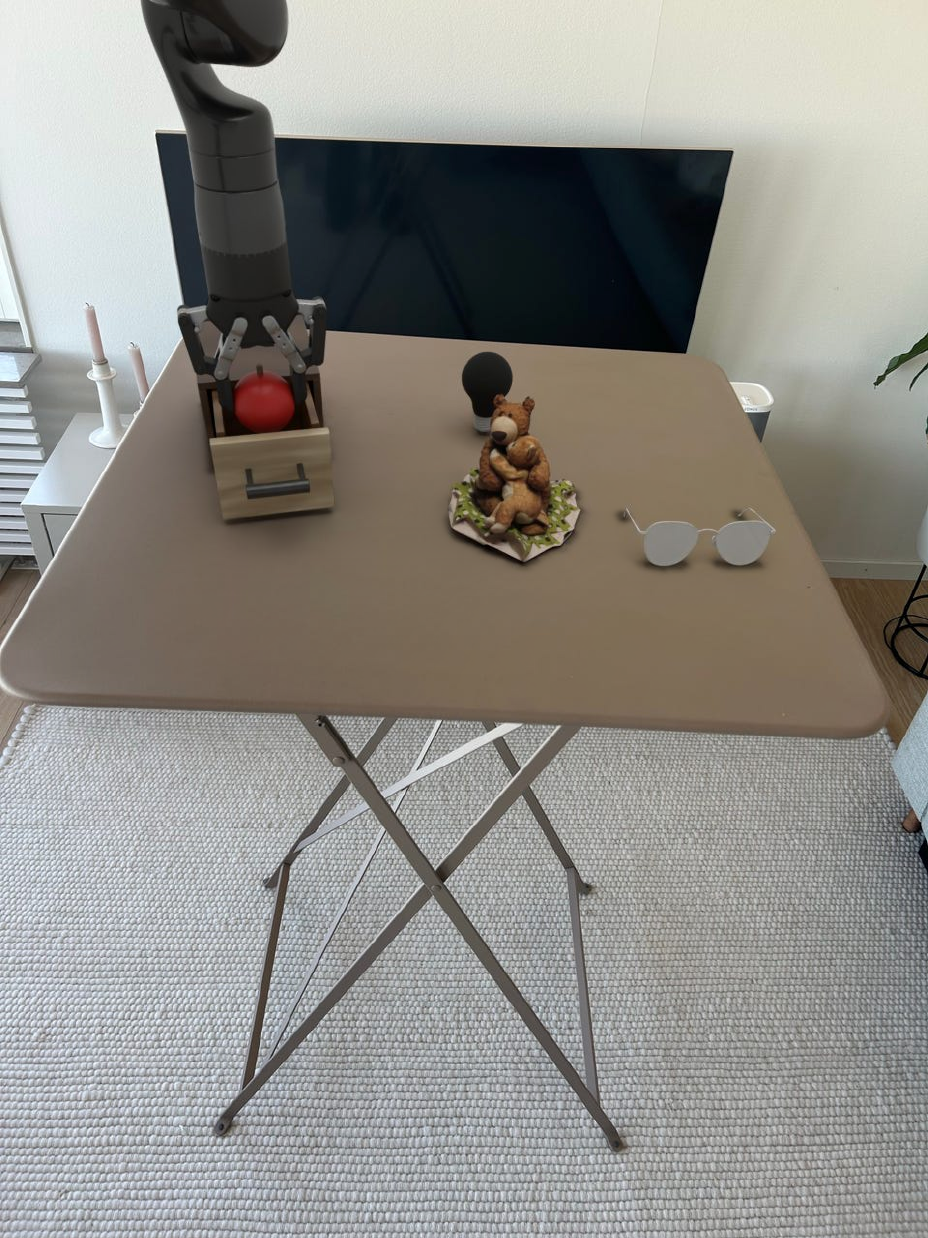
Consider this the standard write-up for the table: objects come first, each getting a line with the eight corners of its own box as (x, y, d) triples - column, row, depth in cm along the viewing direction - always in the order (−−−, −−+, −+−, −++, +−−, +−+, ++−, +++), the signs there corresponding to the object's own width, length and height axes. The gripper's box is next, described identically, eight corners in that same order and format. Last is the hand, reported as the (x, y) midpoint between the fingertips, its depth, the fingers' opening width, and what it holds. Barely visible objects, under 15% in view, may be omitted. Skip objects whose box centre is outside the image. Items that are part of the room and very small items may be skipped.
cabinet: (326, 458, 100) (319, 372, 93) (212, 470, 98) (197, 383, 90) (309, 396, 111) (302, 314, 103) (206, 405, 108) (191, 322, 101)
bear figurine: (423, 536, 91) (424, 432, 82) (481, 465, 101) (487, 366, 93) (547, 575, 87) (561, 470, 79) (594, 497, 97) (612, 397, 89)
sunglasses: (634, 566, 88) (641, 522, 86) (616, 527, 95) (622, 485, 93) (768, 565, 89) (780, 521, 87) (741, 526, 96) (750, 484, 94)
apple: (248, 451, 88) (239, 385, 83) (228, 421, 91) (217, 358, 87) (306, 436, 90) (301, 372, 85) (284, 408, 94) (277, 346, 89)
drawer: (341, 531, 89) (336, 456, 83) (225, 545, 87) (212, 469, 81) (316, 439, 102) (311, 368, 96) (215, 449, 99) (203, 377, 93)
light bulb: (512, 424, 108) (520, 347, 101) (501, 448, 103) (507, 370, 97) (466, 416, 109) (470, 339, 102) (453, 439, 104) (456, 361, 98)
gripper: (158, 254, 73) (192, 431, 85) (331, 245, 76) (341, 417, 88) (157, 223, 79) (189, 393, 90) (319, 215, 82) (330, 381, 93)
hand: (264, 404), depth 89 cm, fingers closed on apple, 6 cm apart
